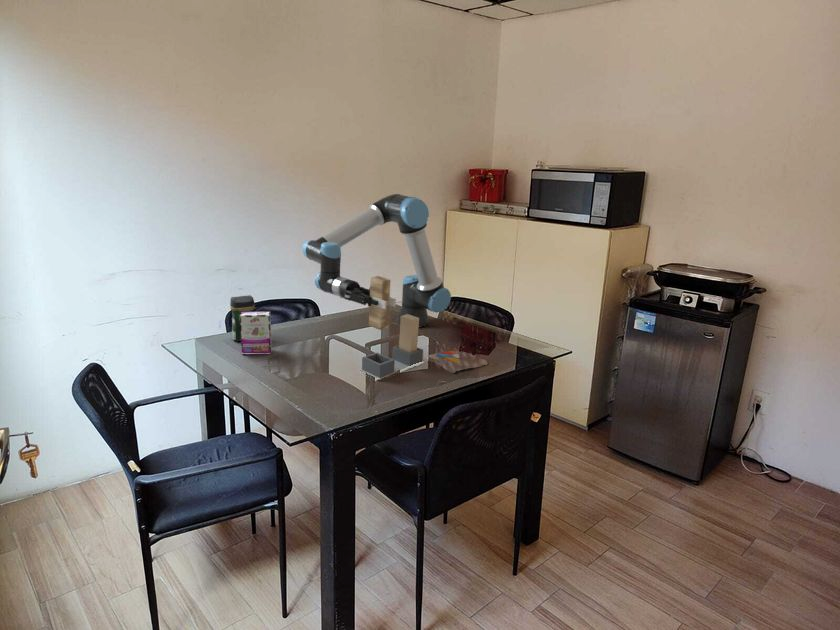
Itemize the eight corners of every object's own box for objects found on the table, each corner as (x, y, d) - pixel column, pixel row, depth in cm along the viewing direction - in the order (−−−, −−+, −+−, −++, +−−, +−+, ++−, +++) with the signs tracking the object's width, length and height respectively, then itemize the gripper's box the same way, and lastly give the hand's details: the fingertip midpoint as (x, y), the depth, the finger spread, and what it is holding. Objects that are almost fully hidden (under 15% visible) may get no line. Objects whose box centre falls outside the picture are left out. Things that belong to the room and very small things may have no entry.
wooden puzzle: (489, 366, 222) (490, 358, 221) (454, 376, 211) (455, 367, 210) (460, 351, 235) (460, 343, 234) (425, 360, 224) (426, 352, 222)
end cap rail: (405, 355, 225) (408, 311, 219) (424, 363, 219) (427, 318, 213) (359, 372, 207) (361, 324, 201) (378, 381, 201) (380, 332, 195)
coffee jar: (253, 334, 237) (251, 292, 231) (258, 340, 231) (256, 297, 225) (229, 337, 232) (227, 294, 226) (234, 343, 226) (232, 300, 220)
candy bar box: (271, 349, 222) (270, 311, 217) (271, 354, 218) (270, 315, 212) (242, 350, 220) (241, 311, 215) (241, 355, 215) (239, 315, 210)
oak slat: (376, 323, 204) (378, 276, 199) (388, 327, 201) (390, 279, 195) (368, 325, 201) (370, 277, 196) (380, 330, 198) (382, 281, 192)
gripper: (363, 294, 216) (406, 309, 202) (328, 302, 204) (372, 318, 190) (363, 276, 214) (407, 290, 200) (329, 282, 202) (373, 297, 187)
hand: (390, 304), depth 195 cm, fingers closed on oak slat, 4 cm apart
